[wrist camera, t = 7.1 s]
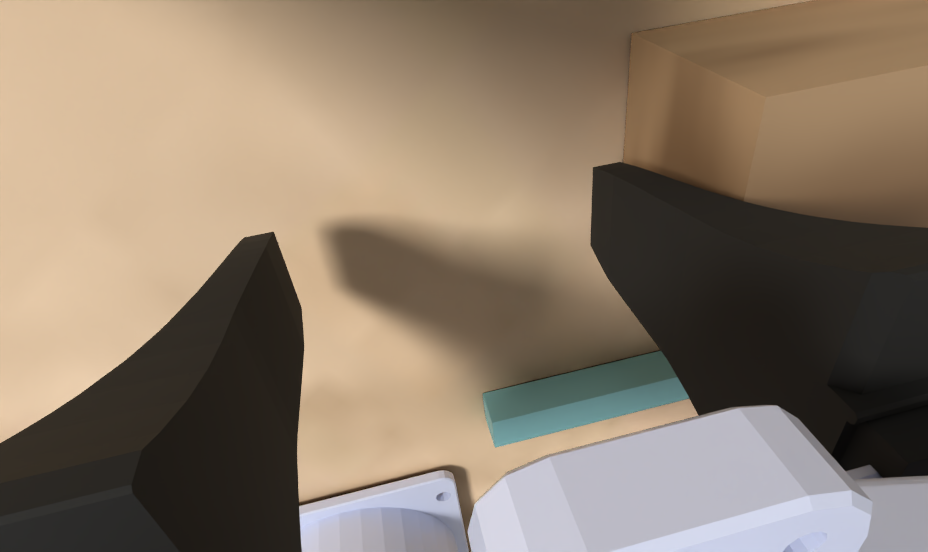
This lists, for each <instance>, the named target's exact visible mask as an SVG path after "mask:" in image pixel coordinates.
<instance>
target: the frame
mask: <svg viewBox="0 0 928 552" xmlns="http://www.w3.org/2000/svg"><path fill="white" fill-rule="evenodd" d="M685 399H689V396H688V395H687V393H686V391H685V389H684V388H683V386H682V384H681V382H680V381H679V379H678V377H677V376H676V374H675V372H674V370H673V369H672V367H671V365H670V363H669V362H668V360H667V359H666V357H665V356H664V354H663V353H662V351H657V352H653V353H649V354H645V355H641V356H637V357H632V358H628V359H624V360H620V361H616V362H612V363H607V364H603V365H599V366H595V367H591V368H587V369H583V370H578V371H574V372H570V373H566V374H562V375H558V376H554V377H549V378H545V379H541V380H537V381H533V382H529V383H524V384H520V385H516V386H512V387H508V388H504V389H500V390H495V391H491V392H487V393H483V401H484V408H485V416H486V421H487V424H488V427H489V430H490V433H491V436H492V439H493V443H494V446H495V447H499V446H503V445H507V444H511V443H515V442H519V441H523V440H527V439H531V438H535V437H539V436H543V435H547V434H551V433H555V432H559V431H562V430H566V429H570V428H574V427H578V426H582V425H586V424H590V423H594V422H598V421H602V420H606V419H610V418H614V417H618V416H622V415H626V414H630V413H634V412H638V411H642V410H646V409H650V408H653V407H657V406H661V405H665V404H669V403H673V402H677V401H681V400H685Z"/></svg>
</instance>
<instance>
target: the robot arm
mask: <svg viewBox="0 0 928 552" xmlns="http://www.w3.org/2000/svg"><path fill="white" fill-rule="evenodd" d="M591 247H592V249H593V251H594V253H595V255H596V257H597V259H598V261H599V263H600V265H601V267H602V268H603V270H604V272H605V274H606V276H607V278H608V279H609V281H610V282H611V283H612V285H613V286H614V288H615V289H616V290H617V292H618V293H619V294H620V296H621V297H622V299H623V300H624V301H625V303H626V304H627V305H628V307H629V308H630V309H631V311H632V312H633V313H634V315H635V316H636V317H637V319H638V320H639V321H640V323H641V324H642V325H643V327H644V328H645V329H646V331H647V332H648V333H649V335H650V336H651V337H652V339H653V340H654V341H655V343H656V344H657V346H658V347H659V348H660V350H661V351H662V353H663V354H664V356H665V357H666V359H667V360H668V362H669V363H670V365H671V367H672V369H673V370H674V372H675V374H676V376H677V377H678V379H679V381H680V382H681V384H682V386H683V388H684V389H685V391H686V393H687V395H688V396H689V398H690V400H691V402H692V404H693V406H694V408H695V409H696V411H697V413H698V415H699V416H696V417H692V418H688V419H684V420H680V421H676V422H673V423H669V424H665V425H661V426H657V427H653V428H649V429H646V430H642V431H638V432H634V433H630V434H626V435H622V436H618V437H615V438H611V439H607V440H603V441H599V442H595V443H591V444H588V445H584V446H580V447H576V448H572V449H568V450H564V451H560V452H557V453H553V454H549V455H546V456H543V457H541V458H539V459H536V460H534V461H532V462H529V463H527V464H525V465H522V466H520V467H518V468H515V469H513V470H511V471H508V472H507V473H506V474H505V475H503V476H502V477H501V478H500V479H499V480H498V481H497V482H496V483H495V484H494V485H493V486H492V487H491V488H489V489H488V490H487V491H486V492H485V493H484V494H483V495H482V496H481V497H480V498H479V499H478V501H477V502H476V503H475V505H474V509H473V513H472V516H471V520H470V524H469V528H468V537H469V542H470V547H471V552H928V228H924V227H908V226H894V225H880V224H870V223H860V222H851V221H844V220H836V219H829V218H822V217H815V216H809V215H803V214H798V213H793V212H788V211H783V210H778V209H774V208H769V207H764V206H760V205H756V204H752V203H748V202H744V201H741V200H738V199H734V198H731V197H727V196H724V195H720V194H717V193H714V192H711V191H707V190H704V189H701V188H698V187H695V186H692V185H689V184H687V183H684V182H681V181H678V180H675V179H672V178H669V177H666V176H664V175H661V174H658V173H655V172H652V171H649V170H646V169H643V168H640V167H637V166H634V165H630V164H626V163H621V162H617V163H613V164H608V165H603V166H598V167H593V187H592V217H591ZM303 357H304V336H303V322H302V309H301V305H300V303H299V300H298V297H297V294H296V292H295V289H294V286H293V283H292V281H291V278H290V275H289V272H288V270H287V267H286V264H285V261H284V259H283V256H282V253H281V250H280V248H279V245H278V242H277V240H276V237H275V234H274V232H270V233H265V234H260V235H255V236H250V237H245V238H243V239H242V240H241V241H240V242H239V243H238V244H237V246H236V247H235V248H234V249H233V250H232V251H231V253H230V254H229V255H228V256H227V258H226V259H225V260H224V261H223V262H222V264H221V265H220V266H219V267H218V268H217V270H216V271H215V272H214V273H213V274H212V275H211V277H210V278H209V279H208V280H207V281H206V282H205V284H204V285H203V286H202V287H201V288H200V289H199V291H198V292H197V293H196V294H195V295H194V296H193V297H192V298H191V299H190V300H189V301H188V302H187V303H186V304H185V305H184V306H183V308H182V309H181V310H180V311H179V312H178V313H177V314H176V315H175V316H174V317H173V318H172V319H171V320H170V321H169V322H168V323H167V324H166V325H165V326H164V327H163V328H162V329H161V330H160V331H159V332H158V333H157V334H156V335H154V336H153V337H152V338H151V339H150V340H149V341H148V342H147V343H145V344H144V345H143V346H142V347H141V348H140V349H138V350H137V351H136V352H135V353H134V354H133V355H131V356H130V357H129V358H128V359H126V360H125V361H124V362H123V363H121V364H120V365H119V366H117V367H116V368H115V369H113V370H112V371H111V372H109V373H108V374H107V375H105V376H104V377H102V378H101V379H100V380H98V381H97V382H96V383H94V384H93V385H92V386H90V387H89V388H88V389H86V390H85V391H83V392H82V393H81V394H79V395H78V396H76V397H75V398H73V399H72V400H70V401H69V402H67V403H66V404H64V405H63V406H61V407H60V408H58V409H57V410H55V411H53V412H52V413H50V414H49V415H47V416H46V417H44V418H42V419H41V420H39V421H37V422H36V423H34V424H32V425H31V426H29V427H28V428H26V429H24V430H23V431H21V432H19V433H17V434H16V435H14V436H12V437H10V438H9V439H7V440H5V441H4V442H2V443H0V552H469V549H468V544H467V539H466V534H465V529H464V524H463V519H462V513H461V508H460V503H459V498H458V493H457V488H456V483H455V479H454V475H453V474H452V473H451V472H449V471H446V470H440V471H435V472H431V473H427V474H423V475H419V476H415V477H411V478H407V479H403V480H400V481H396V482H392V483H388V484H384V485H380V486H376V487H372V488H368V489H364V490H360V491H356V492H352V493H348V494H345V495H341V496H337V497H333V498H329V499H325V500H321V501H317V502H313V503H309V504H305V505H301V506H299V496H298V470H297V434H298V421H299V409H300V396H301V384H302V370H303Z"/></svg>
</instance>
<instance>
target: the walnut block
mask: <svg viewBox="0 0 928 552" xmlns="http://www.w3.org/2000/svg"><path fill="white" fill-rule="evenodd" d="M623 163H626V164H630V165H634V166H637V167H640V168H643V169H646V170H649V171H652V172H655V173H658V174H661V175H664V176H666V177H669V178H672V179H675V180H678V181H681V182H684V183H687V184H689V185H692V186H695V187H698V188H701V189H704V190H707V191H711V192H714V193H717V194H720V195H724V196H727V197H731V198H734V199H738V200H741V201H744V202H748V203H752V204H756V205H760V206H764V207H769V208H774V209H778V210H783V211H788V212H793V213H798V214H803V215H809V216H815V217H822V218H829V219H836V220H844V221H851V222H860V223H870V224H880V225H894V226H908V227H924V228H928V0H814V1H809V2H803V3H798V4H792V5H786V6H781V7H775V8H770V9H764V10H758V11H753V12H747V13H742V14H736V15H730V16H725V17H719V18H713V19H708V20H702V21H697V22H691V23H685V24H680V25H674V26H669V27H663V28H657V29H652V30H646V31H641V32H635V33H632V35H631V50H630V66H629V81H628V96H627V111H626V126H625V141H624V157H623Z"/></svg>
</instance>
